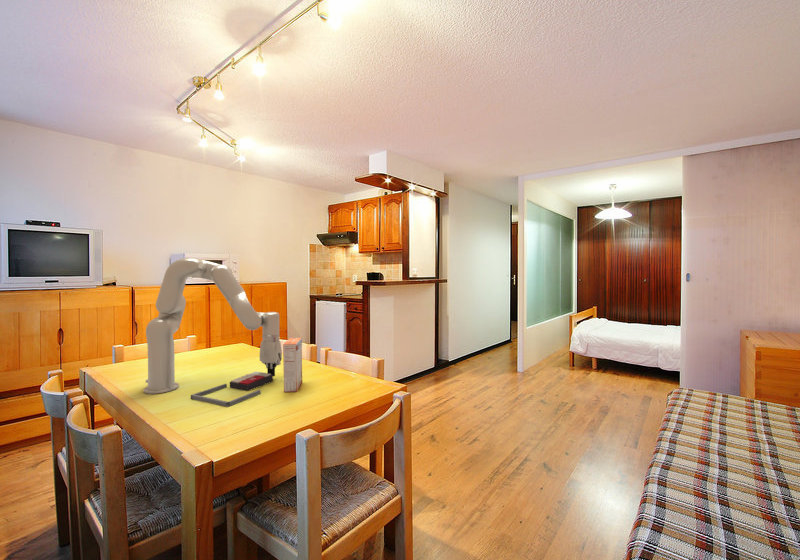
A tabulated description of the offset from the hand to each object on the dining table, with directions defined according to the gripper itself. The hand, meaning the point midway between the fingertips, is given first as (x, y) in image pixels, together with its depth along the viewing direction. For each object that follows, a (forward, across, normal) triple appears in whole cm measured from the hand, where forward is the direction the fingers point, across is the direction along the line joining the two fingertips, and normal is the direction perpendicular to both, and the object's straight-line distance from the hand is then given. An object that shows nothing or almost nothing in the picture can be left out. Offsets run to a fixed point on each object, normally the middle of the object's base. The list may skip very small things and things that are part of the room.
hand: (271, 376), depth 165 cm
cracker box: (+2, +17, -4) cm, 18 cm away
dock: (+2, 0, -24) cm, 24 cm away
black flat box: (+2, -3, -9) cm, 10 cm away
